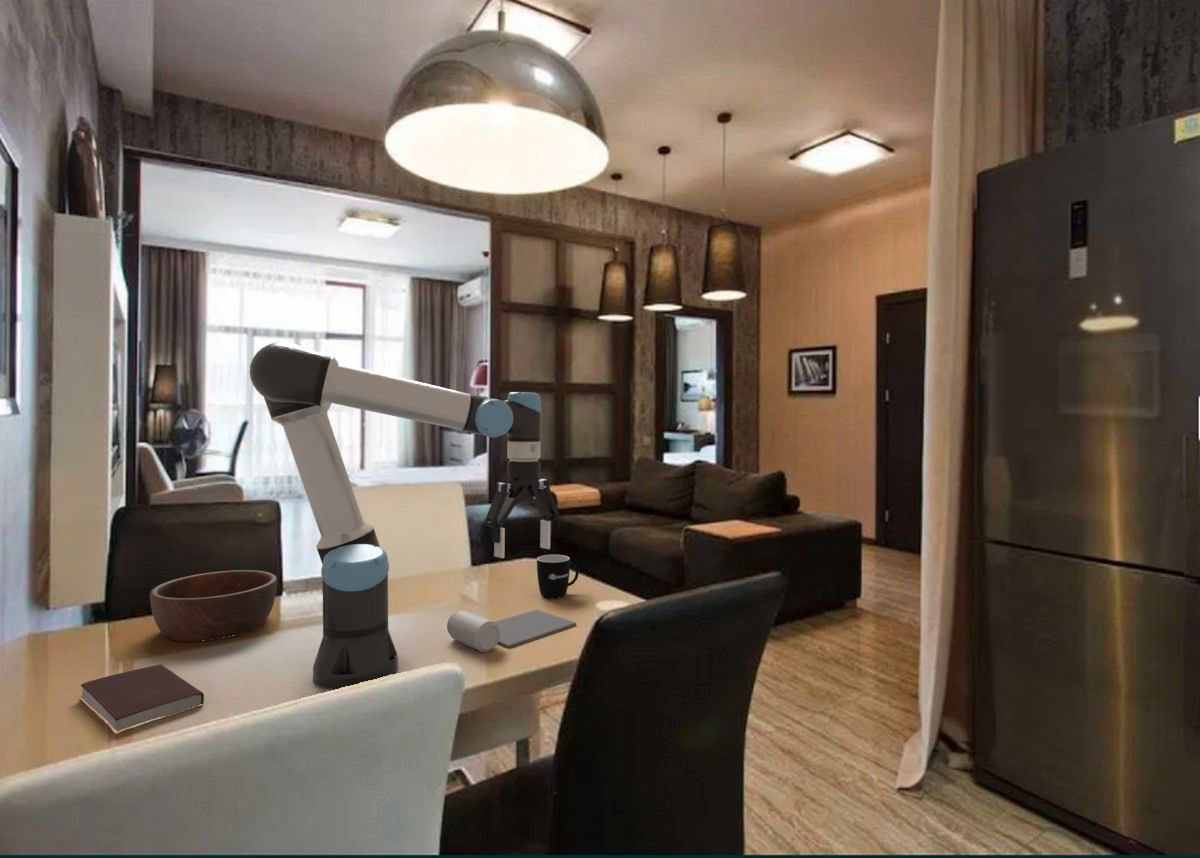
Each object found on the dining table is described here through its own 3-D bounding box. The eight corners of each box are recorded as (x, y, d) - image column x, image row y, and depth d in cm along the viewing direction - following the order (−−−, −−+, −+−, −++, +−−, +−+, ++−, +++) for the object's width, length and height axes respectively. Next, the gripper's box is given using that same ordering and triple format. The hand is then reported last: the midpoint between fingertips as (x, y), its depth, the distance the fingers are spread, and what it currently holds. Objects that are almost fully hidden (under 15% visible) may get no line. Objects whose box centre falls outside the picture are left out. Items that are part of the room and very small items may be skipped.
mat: (508, 648, 134) (508, 645, 134) (469, 632, 144) (469, 629, 144) (575, 625, 149) (575, 622, 149) (536, 611, 158) (536, 609, 158)
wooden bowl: (207, 654, 130) (207, 604, 130) (122, 639, 138) (121, 592, 138) (301, 616, 154) (301, 574, 154) (223, 606, 162) (223, 566, 162)
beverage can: (490, 615, 131) (458, 603, 140) (471, 643, 128) (439, 628, 137) (507, 632, 135) (475, 618, 143) (489, 659, 132) (457, 643, 140)
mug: (544, 602, 167) (544, 563, 166) (531, 593, 174) (531, 556, 174) (585, 595, 172) (585, 558, 172) (571, 587, 180) (571, 552, 180)
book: (163, 678, 120) (162, 661, 120) (204, 708, 108) (204, 688, 108) (79, 702, 110) (78, 683, 110) (114, 738, 98) (114, 717, 98)
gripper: (489, 463, 133) (488, 564, 134) (574, 458, 152) (573, 546, 152) (468, 461, 139) (467, 558, 139) (553, 456, 157) (552, 542, 157)
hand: (523, 552), depth 146 cm, fingers open, 13 cm apart
